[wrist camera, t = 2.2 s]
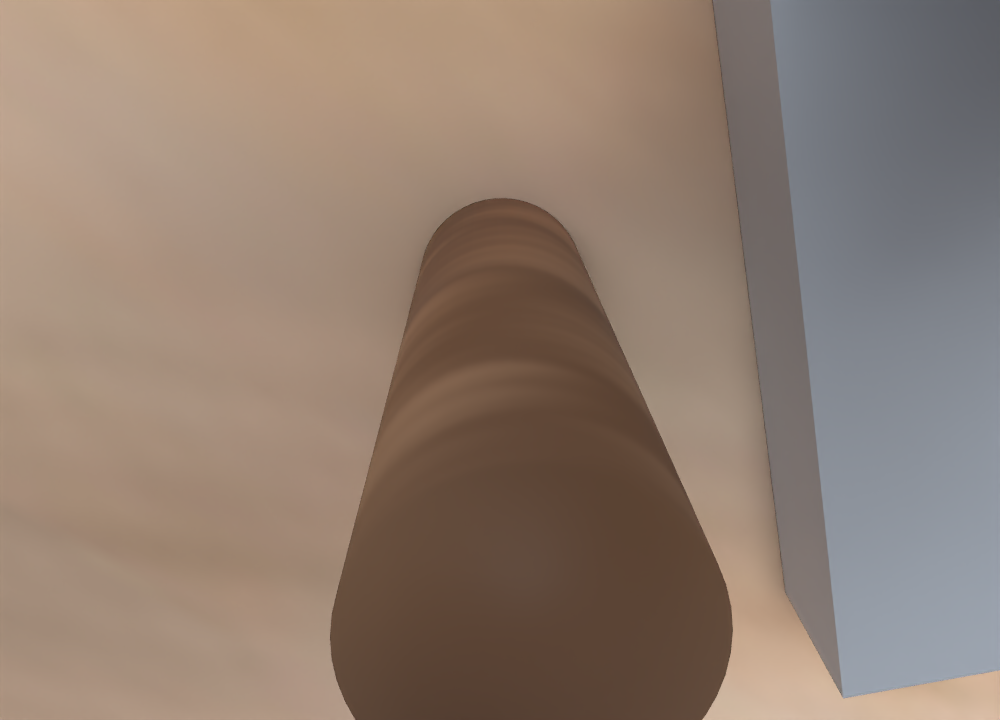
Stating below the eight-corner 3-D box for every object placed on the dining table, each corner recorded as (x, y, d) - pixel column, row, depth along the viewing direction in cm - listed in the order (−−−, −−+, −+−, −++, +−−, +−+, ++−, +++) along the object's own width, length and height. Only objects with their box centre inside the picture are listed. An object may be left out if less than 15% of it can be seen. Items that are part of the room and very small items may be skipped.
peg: (440, 368, 24) (385, 832, 10) (404, 217, 23) (281, 506, 9) (594, 338, 24) (754, 767, 10) (566, 183, 23) (704, 423, 9)
